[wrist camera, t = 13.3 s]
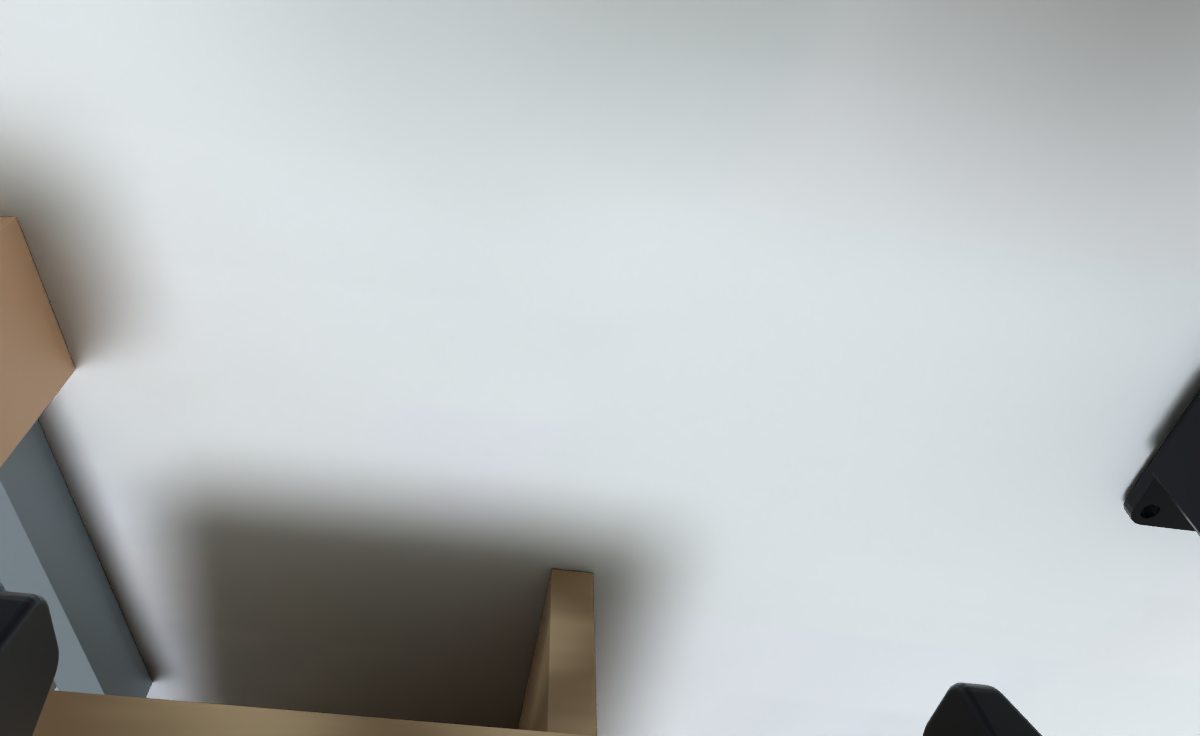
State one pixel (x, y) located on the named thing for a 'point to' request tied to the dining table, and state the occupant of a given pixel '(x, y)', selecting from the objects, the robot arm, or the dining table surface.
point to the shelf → (226, 732)
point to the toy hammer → (51, 494)
